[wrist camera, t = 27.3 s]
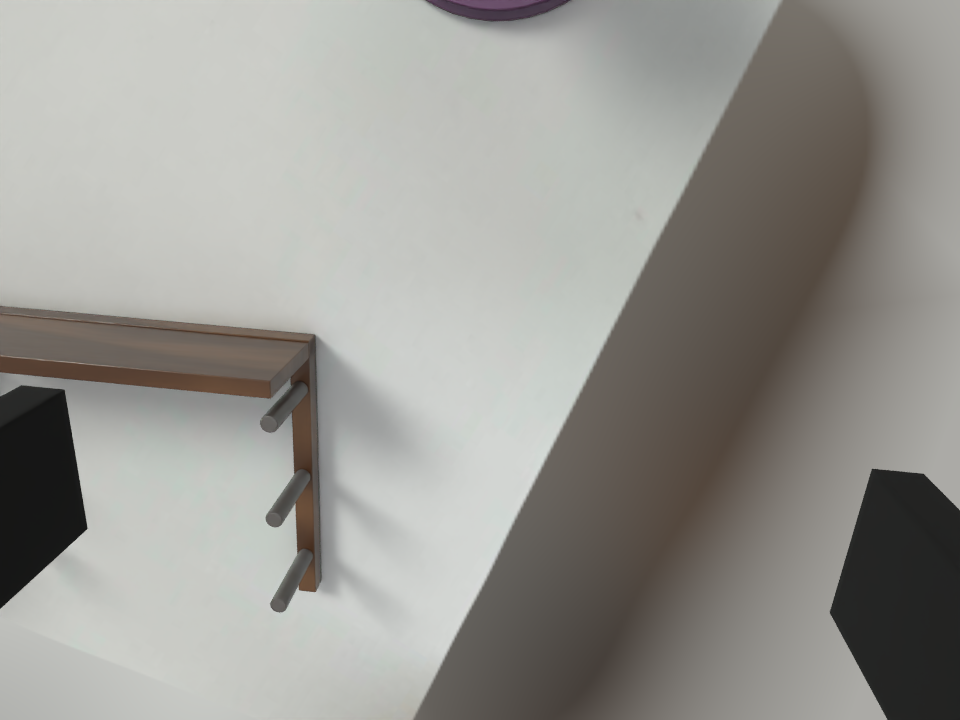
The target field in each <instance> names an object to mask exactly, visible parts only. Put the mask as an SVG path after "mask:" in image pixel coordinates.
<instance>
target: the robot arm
mask: <svg viewBox="0 0 960 720" xmlns="http://www.w3.org/2000/svg"><path fill="white" fill-rule="evenodd" d="M86 530H87V523H86V516H85V510H84V504H83V498H82V492H81V486H80V480H79V474H78V468H77V462H76V456H75V450H74V444H73V438H72V432H71V426H70V420H69V414H68V408H67V402H66V396H65V390H63V389H52V388H42V387H32V386H22V385H21V386H19V387H18V388H16V389H14V390H12V391H10V392H8V393H6V394H4V395H3V396H1V397H0V608H2V607H3V606H4V605H5V604H6V603H7V602H8V601H9V600H10V599H11V598H12V597H14V596H15V595H16V594H17V593H18V592H19V591H20V590H21V589H22V588H23V587H24V586H26V585H27V584H28V583H29V582H30V581H31V580H32V579H33V578H34V577H35V576H37V575H38V574H39V573H40V572H41V571H42V570H43V569H44V568H45V567H46V566H47V565H49V564H50V563H51V562H52V561H53V560H54V559H55V558H56V557H57V556H58V555H59V554H61V553H62V552H63V551H64V550H65V549H66V548H67V547H68V546H69V545H70V544H71V543H73V542H74V541H75V540H76V539H77V538H78V537H79V536H80V535H81V534H82V533H83V532H85V531H86ZM830 614H831V616H832V618H833V619H834V621H835V623H836V625H837V627H838V629H839V631H840V632H841V634H842V636H843V638H844V640H845V642H846V643H847V645H848V647H849V649H850V651H851V652H852V655H853V656H854V658H855V660H856V662H857V664H858V666H859V668H860V669H861V671H862V673H863V675H864V677H865V679H866V681H867V682H868V684H869V686H870V688H871V690H872V692H873V694H874V695H875V697H876V699H877V701H878V703H879V705H880V706H881V708H882V710H883V712H884V714H885V716H886V718H887V720H960V510H959V509H958V508H957V507H956V506H955V505H954V504H953V503H952V502H951V501H950V500H949V499H948V498H947V497H946V496H945V495H944V494H943V493H942V492H941V491H940V490H939V489H938V488H937V487H936V486H935V485H934V484H933V483H932V482H931V481H930V480H929V479H928V478H927V477H926V476H925V475H924V474H919V473H908V472H899V471H889V470H878V469H872V471H871V474H870V477H869V481H868V484H867V488H866V491H865V494H864V498H863V502H862V505H861V508H860V511H859V515H858V518H857V522H856V525H855V529H854V532H853V535H852V539H851V542H850V546H849V549H848V552H847V556H846V559H845V563H844V566H843V569H842V573H841V576H840V580H839V583H838V586H837V590H836V593H835V597H834V600H833V604H832V607H831V610H830Z"/></svg>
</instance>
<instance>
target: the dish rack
mask: <svg viewBox="0 0 960 720" xmlns="http://www.w3.org/2000/svg"><path fill="white" fill-rule="evenodd" d="M0 372H2V373H13V374H23V375H33V376H43V377H54V378H64V379H74V380H85V381H95V382H105V383H115V384H126V385H136V386H146V387H157V388H167V389H177V390H187V391H198V392H208V393H218V394H229V395H239V396H249V397H259V398H272V397H273V396H274V395H275V394H276V392H277V391H278V390H279V389H280V388H281V387H282V386H283V385H284V384H285V383H286V382H287V381H288V380H289V379H290V378H291V387H290V388H289V389H288V390H287V391H286V392H285V393H284V394H283V396H282V397H281V398H280V399H279V400H278V401H277V402H276V403H275V404H274V405H273V407H272V408H271V409H270V410H269V411H268V412H267V413H266V414H265V415H264V416H263V418H262V419H261V421H260V425H261V427H262V429H263V430H264V431H266V432H270V433H271V432H275V431H276V430H277V429H278V428H279V427H280V425H281V424H282V423H283V422H284V421H285V419H286V418H287V417H288V416H289V415H290V413H291V412H292V426H293V452H294V476H293V477H292V479H291V480H290V482H289V483H288V485H287V486H286V487H285V489H284V490H283V492H282V493H281V495H280V496H279V498H278V499H277V501H276V502H275V503H274V505H273V506H272V508H271V509H270V511H269V512H268V514H267V515H266V522H267V523H268V524H269V525H270V526H272V527H279V526H281V525H282V523H283V522H284V520H285V518H286V517H287V515H288V514H289V512H290V511H291V509H292V507H293V506H294V504H296V529H297V556H296V558H295V560H294V561H293V563H292V565H291V567H290V569H289V570H288V572H287V574H286V576H285V578H284V579H283V581H282V583H281V585H280V587H279V588H278V590H277V592H276V594H275V595H274V597H273V599H272V601H271V603H270V605H271V608H272V609H273V610H274V611H276V612H284V611H285V610H286V608H287V607H288V605H289V603H290V601H291V599H292V597H293V595H294V593H295V591H296V589H297V587H298V585H299V590H301V591H310V592H316V590H317V588H318V586H319V584H320V582H321V564H320V524H319V484H318V443H317V403H316V363H315V335H313V334H302V333H291V332H280V331H269V330H258V329H247V328H236V327H225V326H214V325H202V324H191V323H180V322H169V321H158V320H147V319H136V318H125V317H114V316H103V315H92V314H81V313H70V312H59V311H48V310H37V309H25V308H14V307H3V306H0Z"/></svg>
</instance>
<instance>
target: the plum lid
mask: <svg viewBox="0 0 960 720" xmlns="http://www.w3.org/2000/svg"><path fill="white" fill-rule="evenodd" d="M426 1H428V2H430V3H431V4H433V5H434V6H437V7H439V8H441V9H443V10H446V11H448V12H450V13H453V14H456V15H460V16H463V17H467V18H470V19H477V20H485V21H512V20H518V19H524V18H529V17H533V16H536V15H539V14H542V13H545V12H548V11H550V10H553V9H555V8H557V7H559V6H561V5H563V4H565V3H567V2H569V1H570V0H426Z"/></svg>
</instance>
